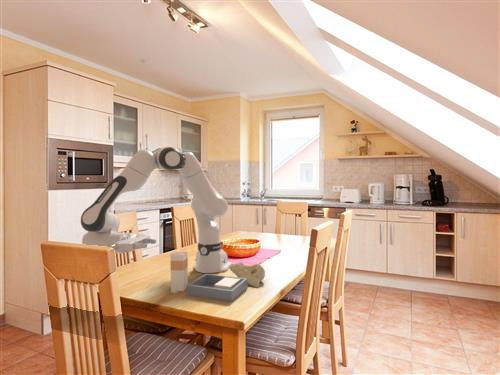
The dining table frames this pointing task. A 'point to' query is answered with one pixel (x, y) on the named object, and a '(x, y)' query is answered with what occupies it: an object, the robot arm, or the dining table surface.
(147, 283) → the dining table surface
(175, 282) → the juice carton
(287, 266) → the dining table surface
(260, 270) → the beige rock
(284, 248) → the dining table surface
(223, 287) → the white rectangular block
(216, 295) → the tote
